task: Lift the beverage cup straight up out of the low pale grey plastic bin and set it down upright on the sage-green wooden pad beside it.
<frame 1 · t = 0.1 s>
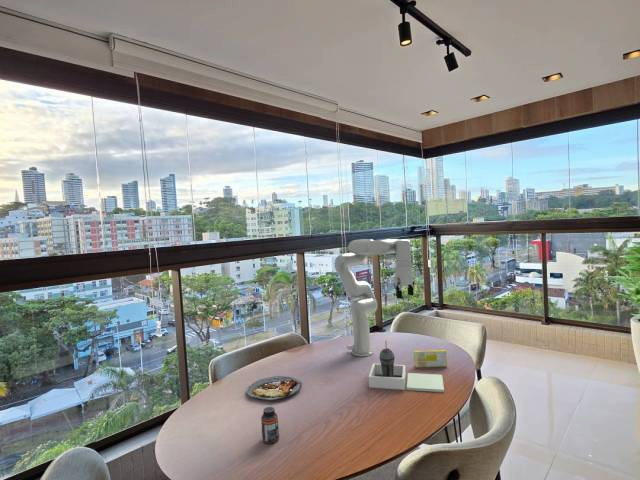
hand: (405, 296, 186), 37 cm above the table, tool pointing down, fingers open, 9 cm apart
pad: (425, 383, 169), on the table
candy box: (430, 366, 188), on the table
food plate: (274, 391, 170), on the table
supplement bottle: (270, 440, 130), on the table
bin: (388, 381, 173), on the table
beverage cup: (388, 381, 173), resting in bin
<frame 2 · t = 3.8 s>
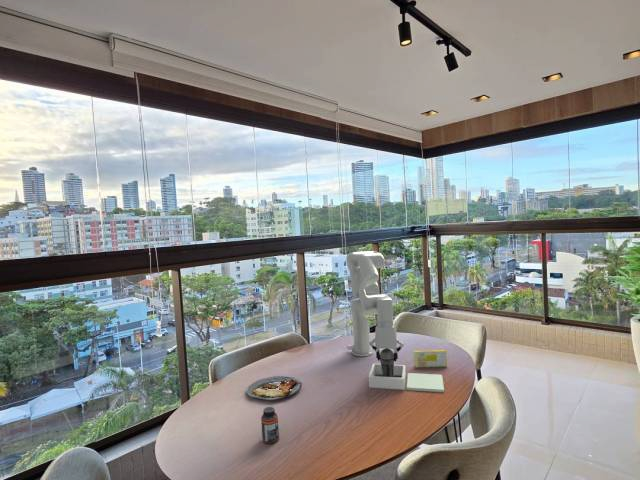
hand: (387, 359, 173), 10 cm above the table, tool pointing down, fingers closed on beverage cup, 7 cm apart
beverage cup: (388, 381, 173), resting in bin, touching gripper
everything else where it was.
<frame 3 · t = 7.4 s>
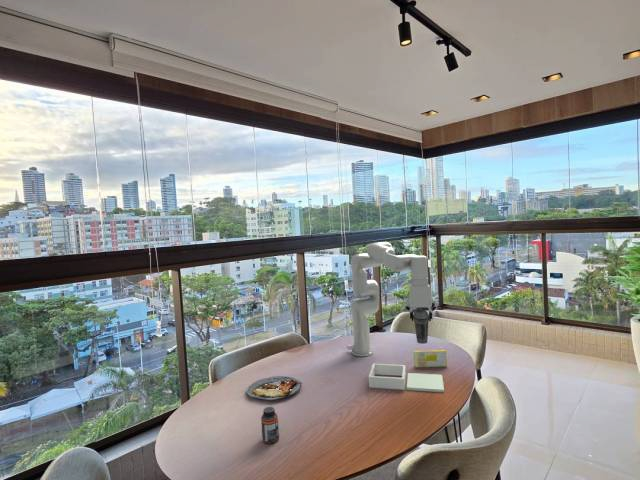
hand: (421, 320, 168), 30 cm above the table, tool pointing down, fingers closed on beverage cup, 7 cm apart
beverage cup: (422, 342, 168), point 19 cm above the table, touching gripper
everything else where it was.
when the fingers open (13 cm above the table, at t = 11.2 s): beverage cup drops 1 cm, resting on pad.
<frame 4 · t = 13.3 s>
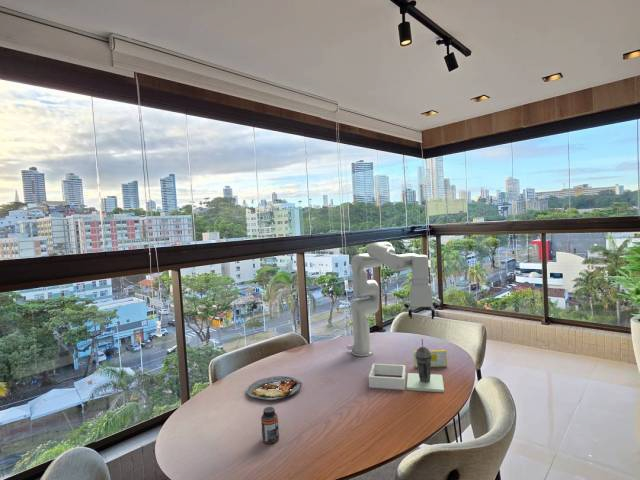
hand: (421, 318, 168), 31 cm above the table, tool pointing down, fingers open, 9 cm apart
beverage cup: (425, 381, 169), point 1 cm above the table, touching pad
everything else where it was.
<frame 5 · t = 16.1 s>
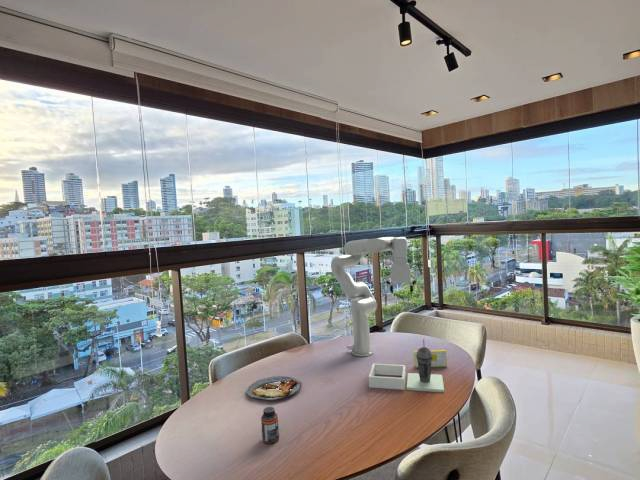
hand: (401, 293, 190), 38 cm above the table, tool pointing down, fingers open, 9 cm apart
nothing on the table moved.
at the end: beverage cup inside the target area on the pad (0.1 cm from its centre), point 1.0 cm above the pad's base; beverage cup tilted 1°; the gripper is holding nothing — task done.
